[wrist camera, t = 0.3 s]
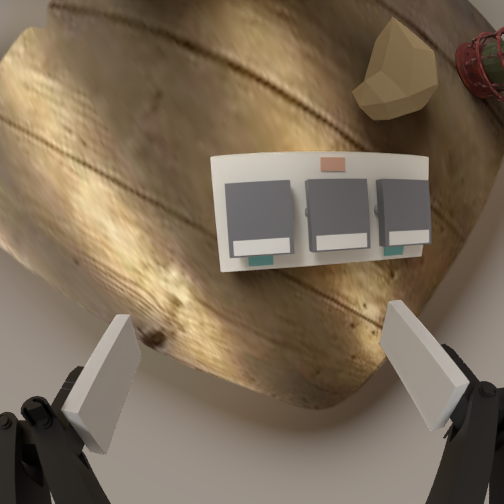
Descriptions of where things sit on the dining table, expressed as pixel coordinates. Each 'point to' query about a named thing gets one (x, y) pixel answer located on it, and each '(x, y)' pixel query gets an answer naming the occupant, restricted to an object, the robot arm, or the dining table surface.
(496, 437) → the robot arm
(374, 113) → the low-poly potato
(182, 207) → the dining table surface
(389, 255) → the console
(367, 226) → the rocker middle
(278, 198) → the rocker
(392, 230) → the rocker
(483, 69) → the lantern
